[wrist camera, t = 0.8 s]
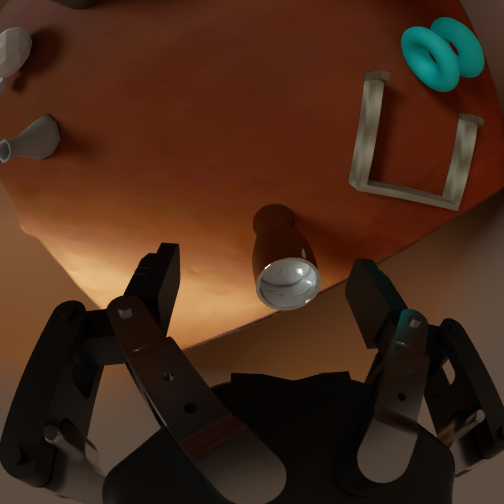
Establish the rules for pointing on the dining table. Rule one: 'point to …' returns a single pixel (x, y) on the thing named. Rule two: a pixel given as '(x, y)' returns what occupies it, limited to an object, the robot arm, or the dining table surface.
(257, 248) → the beer glass
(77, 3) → the pillar candle
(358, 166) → the box
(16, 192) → the dining table surface
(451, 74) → the teal diabolo
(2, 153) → the flask
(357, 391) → the robot arm
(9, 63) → the perfume bottle
